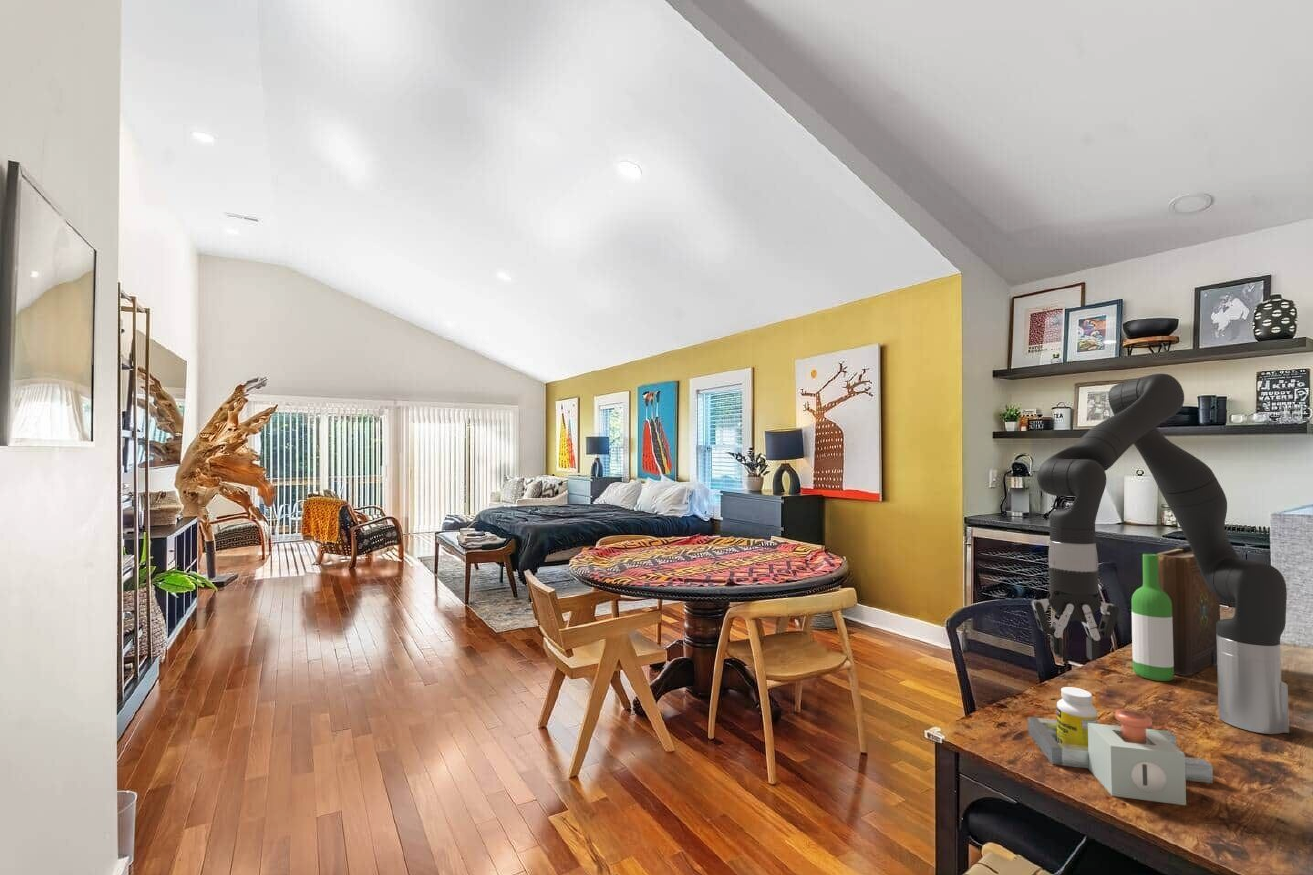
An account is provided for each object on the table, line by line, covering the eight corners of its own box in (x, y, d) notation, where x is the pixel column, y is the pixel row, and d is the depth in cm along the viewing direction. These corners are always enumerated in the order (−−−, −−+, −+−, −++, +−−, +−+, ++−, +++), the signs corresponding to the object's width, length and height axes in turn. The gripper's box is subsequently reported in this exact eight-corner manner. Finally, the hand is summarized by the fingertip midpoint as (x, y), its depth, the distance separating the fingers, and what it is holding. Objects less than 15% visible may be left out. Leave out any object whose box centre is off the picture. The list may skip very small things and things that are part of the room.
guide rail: (1170, 747, 111) (1169, 731, 111) (1212, 783, 99) (1212, 765, 99) (1028, 732, 117) (1027, 716, 117) (1052, 764, 105) (1051, 746, 105)
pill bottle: (1049, 744, 112) (1048, 685, 112) (1079, 742, 113) (1078, 684, 113) (1075, 761, 106) (1073, 699, 106) (1107, 759, 106) (1105, 697, 107)
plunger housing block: (1156, 776, 101) (1155, 729, 101) (1188, 807, 92) (1186, 755, 92) (1088, 768, 103) (1087, 722, 103) (1113, 797, 95) (1112, 747, 95)
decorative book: (1188, 653, 162) (1185, 543, 162) (1223, 661, 155) (1220, 547, 156) (1153, 670, 149) (1151, 551, 150) (1190, 679, 143) (1187, 555, 144)
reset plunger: (1142, 734, 100) (1142, 710, 100) (1158, 748, 95) (1158, 723, 95) (1109, 730, 101) (1109, 707, 101) (1123, 744, 96) (1123, 719, 96)
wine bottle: (1162, 684, 140) (1159, 558, 141) (1125, 673, 147) (1123, 553, 148) (1181, 679, 143) (1178, 555, 144) (1144, 668, 150) (1141, 550, 151)
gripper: (1107, 563, 112) (1110, 654, 111) (1022, 560, 116) (1024, 648, 115) (1128, 571, 104) (1130, 668, 104) (1036, 567, 108) (1038, 661, 108)
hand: (1074, 657), depth 110 cm, fingers open, 4 cm apart
